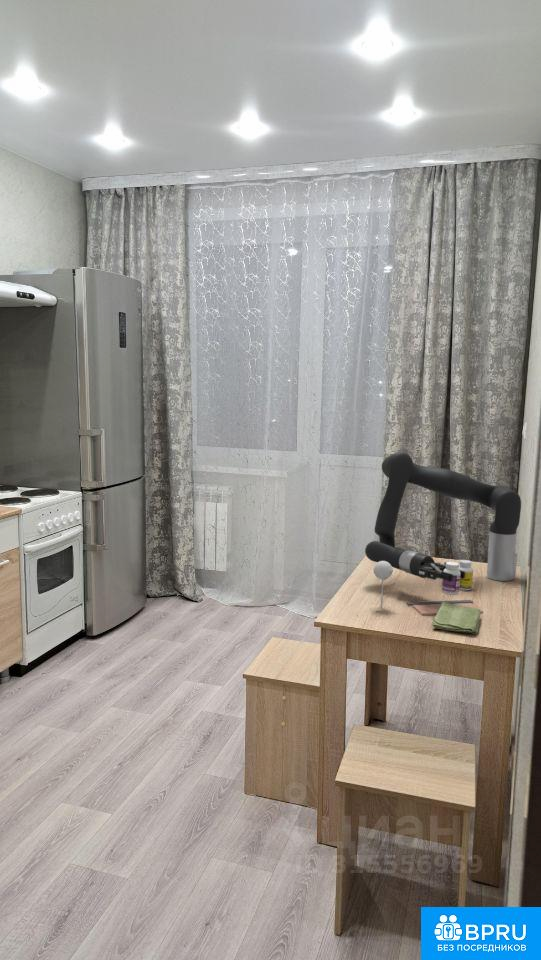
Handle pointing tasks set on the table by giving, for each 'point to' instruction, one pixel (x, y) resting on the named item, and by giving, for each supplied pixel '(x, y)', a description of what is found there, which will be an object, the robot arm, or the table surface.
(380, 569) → the lollipop
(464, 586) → the supplement bottle
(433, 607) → the mat
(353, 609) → the table surface
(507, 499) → the robot arm
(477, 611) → the washcloth
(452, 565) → the pill bottle
